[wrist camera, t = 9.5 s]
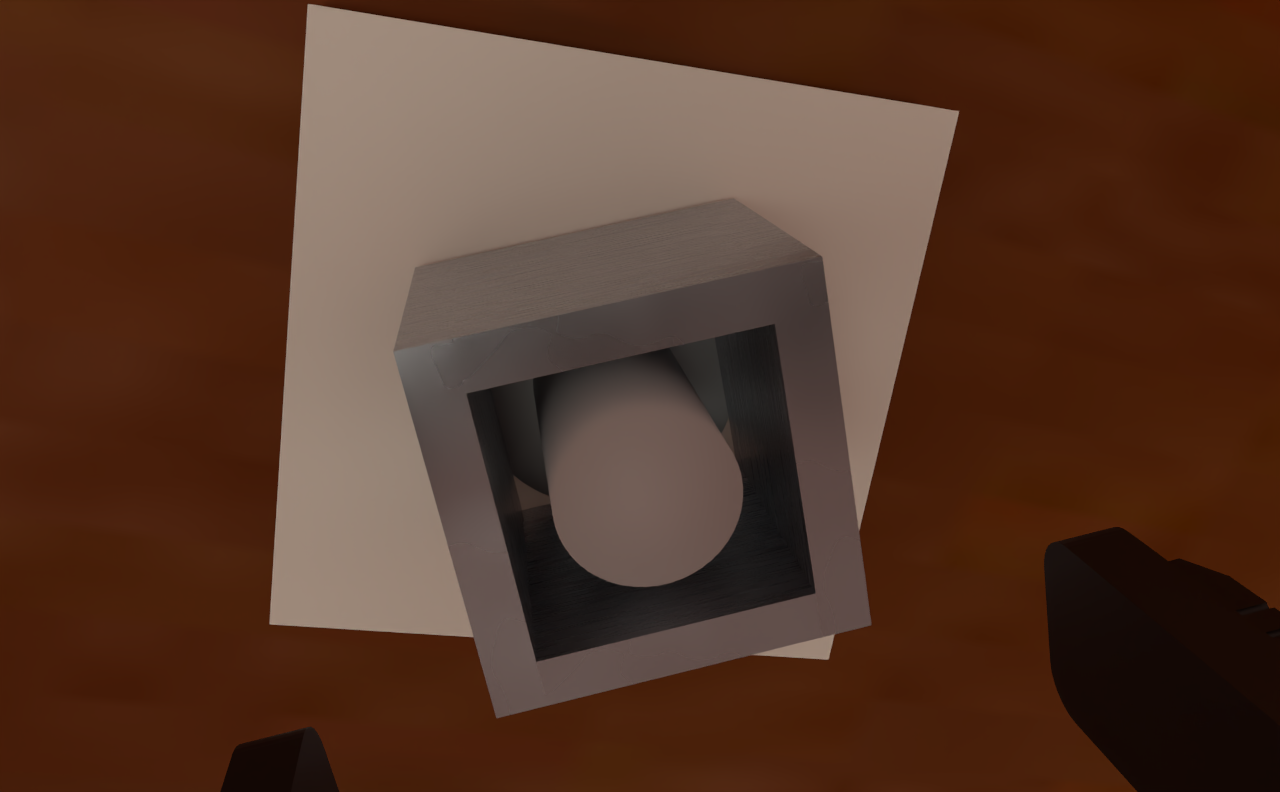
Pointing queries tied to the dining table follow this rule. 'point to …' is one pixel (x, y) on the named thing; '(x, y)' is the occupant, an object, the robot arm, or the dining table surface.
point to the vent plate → (540, 209)
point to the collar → (609, 330)
